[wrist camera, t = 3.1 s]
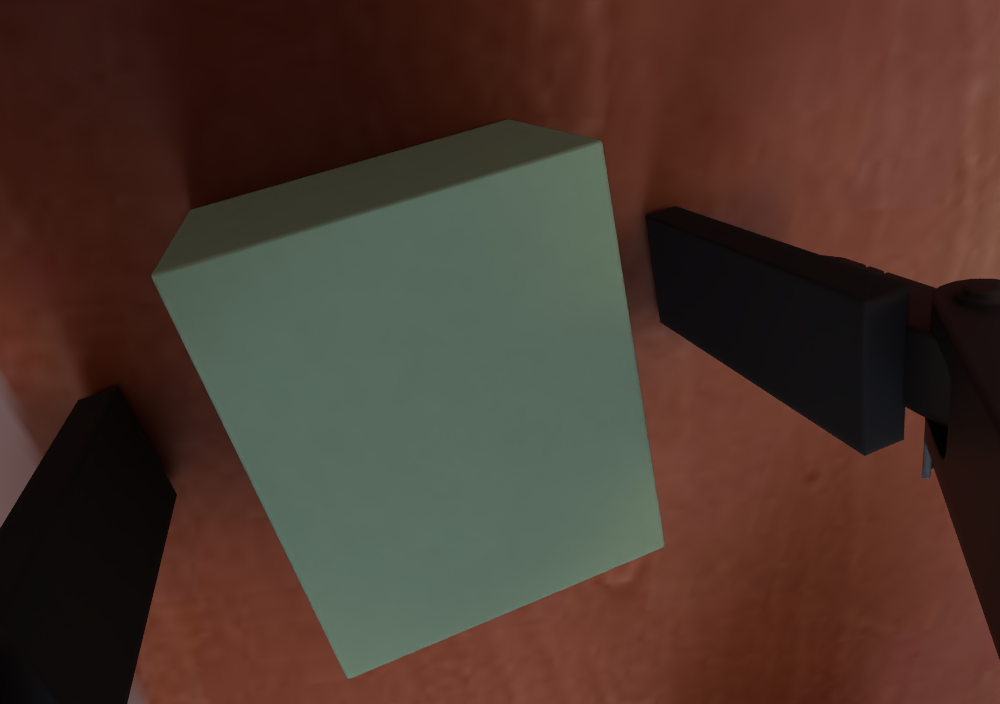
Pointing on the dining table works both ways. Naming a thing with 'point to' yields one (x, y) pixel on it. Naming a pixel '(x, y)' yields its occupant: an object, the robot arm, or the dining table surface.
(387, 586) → the green block
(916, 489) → the dining table surface
